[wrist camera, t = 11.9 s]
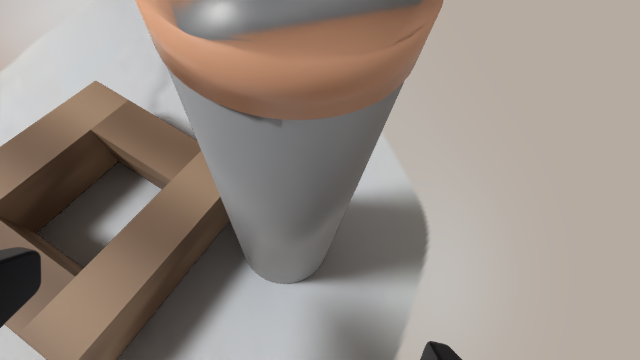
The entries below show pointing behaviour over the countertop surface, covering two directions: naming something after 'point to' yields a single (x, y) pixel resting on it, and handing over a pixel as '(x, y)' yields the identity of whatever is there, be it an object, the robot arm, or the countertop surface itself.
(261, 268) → the plug
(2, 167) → the brown square frame
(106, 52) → the countertop surface
